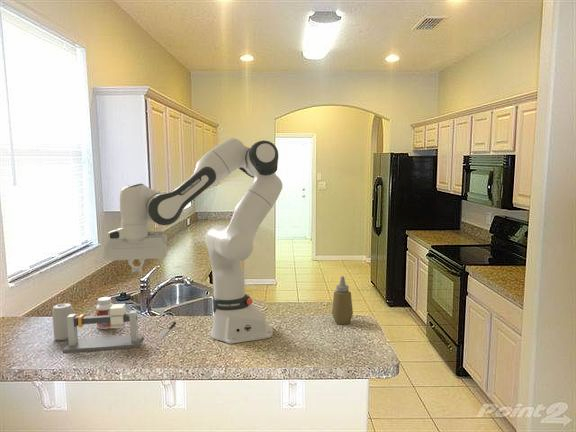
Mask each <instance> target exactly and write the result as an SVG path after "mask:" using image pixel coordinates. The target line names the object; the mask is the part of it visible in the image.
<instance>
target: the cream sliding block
mask: <svg viewBox="0 0 576 432" xmlns="http://www.w3.org/2000/svg"><path fill="white" fill-rule="evenodd" d="M112 304H113V305H112V307H111V308H110V320H111V328H110V329H119V328H121V329H122V328H124V327H125V325H126V324H127V322H124V318H123V315H124V314H127V311H126V303H117V304H116V303H115V304H114V303H112Z"/></svg>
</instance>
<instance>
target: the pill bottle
mask: <svg viewBox="0 0 576 432" xmlns="http://www.w3.org/2000/svg"><path fill="white" fill-rule="evenodd" d="M97 303H98V304H97V305H96V307H95V308H96V309H95V310H96V316H103V315H110V308H111V307H112V305H113V304H114V303H112V298H111V296H103V297H99V298H98V299H97ZM96 327H97V329H99V330H108V329H112V328H111V323H97V324H96Z"/></svg>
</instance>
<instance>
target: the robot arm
mask: <svg viewBox="0 0 576 432" xmlns="http://www.w3.org/2000/svg"><path fill="white" fill-rule="evenodd" d="M278 165H279V150H278V148H277V146H276V145H275V144H274V143H273V142H272V141H269V140H259V141H257V142H255V143H253V144H252V145H251V147H249V146H246V145H245V144H244V143H243V142H242V141H241V140H240V139H238V138H235V137H232V138H228V139H227V140H224V141H223V142H221V143H219V144H217V145H216V146H214V147H212V149H210V150H208V151H207V152H206V153H204V155H202V156H201V157H200V159H199V160H197V161H196V164H195V169H194V172H193V173H192V175H191V176H190V177H189V178H187V179H186V180H185V181H183V183H181V184H180V185H179V186H177V187H176V188H175V189H174V190H172V191H170V192H167V193H164V192H160V191H158V190H154V189H152V188H150V187H148V186H147V185H145V184H144V183H133V184H129V185H126V186H124V187H123V188H122V189H121V190H120V193H119V212H120V213H119V214H120V216H121V219H120V220H121V221H120V227H118V228H115V229H114V230H113V229H112V230H111V231H108V232H107V233H106V239H107V240H105V242H104V248H103V258H104V259H105V261H107V262H110V261H127V264H128V265H129V266H130V267H131V272H132V273H133V274H134V273H142V271H143V269H142V267H143V266H144V263H145V260H154V259H155V260H156V259H157V260H158V259H161V260H162V259H165V258H166V257H167V256H168V249H167V243H168V235H167V234H166V233H165V232H163V231H162V230H160V231H159V230H158V231H149V230H150V228H149V227H150V226H149V220H152V221H153V223H155V224H158V225H160V226H169V225H172V224H174V223H175V222H176V221H178V219H179V218H180V216H181V215H182V213H183V210H184V209H185V208H186V206H188V205H189V204H190V203H191V202H192V201H194V199H196V198H197V197H198V196H199V195H201V194H202V193H203V192H205V190H207V189H208V188H210V187H212V186H214V185H216V184H218V183H219V182H221V181H222V180H224V179H225V178H227V177H228V176H229V175H231V174H232V173H233V172H234V171H235V172H236V170H238V169H239V170H241V172H243V173H245V174H246V175H247V176H249V177H250V178H252V179H253V181H252V183H251V185H250V186H249V187H248V188H247V190H246V191H245V193H244V194H243V195H242V197H241V198H240V200H239V201H238V202H237V204H236V205H235V206H234V209H233V214H232V217H231V220H230V222H229V223H228V225H216V226H212V227H210V228H209V229H208V230H207V232H206V233H205V236H204V242H205V243H204V244H205V245H206V248H207V251H208V257H209V263H210V266H211V272H212V281H213V283H212V284H213V285H212V286H213V296H212V312H213V320H212V326H211V332H210V337H211V338H212V339H215V340H217V341H221V342H225V343H227V344H229V345H231V344H238V343H244V342H251V341H258V340H264V339H265V340H266V339H270V338H271V337H272V336H273V334H274V330H273V326H272V325H271V324H270V323H269V322H267V319H266V316H265V314H264V313H263V312H262V311H261V310H260V309H258V308H257V307H256V306H254V305H252V304H253V299H252V298H251V296H250V295H249V294H246V293H245V292H246V291H245V290H246V289H245V272H244V270H243V268H242V265H241V262H242V261H245V260H247V259H248V258H249V257H250V256H251V255H252V253H253V250H254V239H255V237H256V235H257V232H258V230H259V227H260V226H261V224H262V222H264V219H265V218H266V217H267V215H268V214H269V212H270V211H271V209H272V208H273V206H275V203H276V202H277V200H278V198H279V197H280V195H281V192H282V190H283V182H282V180H281V179H280V177H279V176H278V175H276V172H277V171H278ZM135 260H139V261H138V262H139V263H140V264H139V266H135V264H134V261H135Z"/></svg>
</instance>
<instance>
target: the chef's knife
mask: <svg viewBox="0 0 576 432" xmlns="http://www.w3.org/2000/svg"><path fill="white" fill-rule="evenodd" d="M175 325H176V321H173V322H172V323H171V325H170V326H169V327H168V328H163V329H162V331H161V332H160V333H159V335H158V336H157V341H158V342H161V340H163V339H164V337H165V336H166V335H167V334H168V333H170V331H171V329H173V327H174V326H175Z"/></svg>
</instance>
